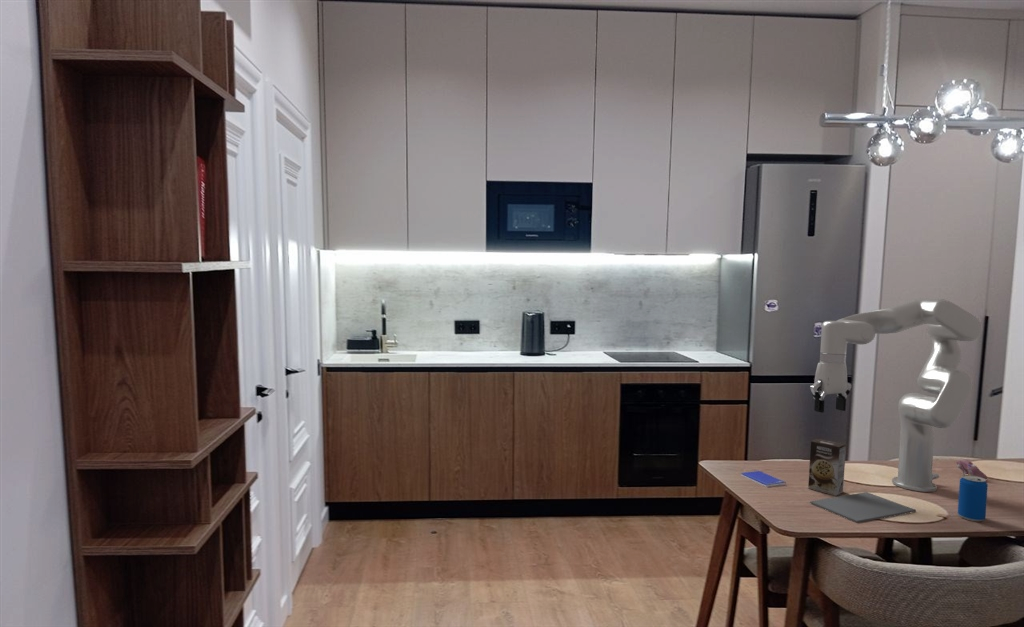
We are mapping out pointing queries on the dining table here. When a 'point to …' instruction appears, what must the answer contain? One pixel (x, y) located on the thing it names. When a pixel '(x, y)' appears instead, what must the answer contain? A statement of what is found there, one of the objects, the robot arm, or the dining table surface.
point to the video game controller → (970, 468)
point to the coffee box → (827, 466)
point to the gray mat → (862, 507)
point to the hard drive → (763, 479)
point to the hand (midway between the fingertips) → (829, 410)
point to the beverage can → (972, 498)
